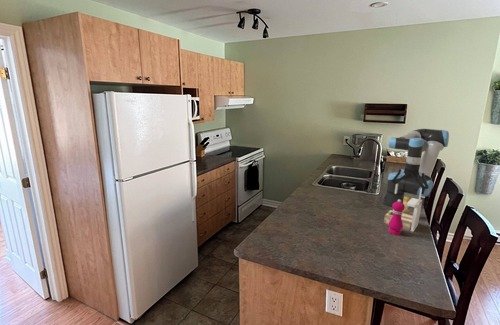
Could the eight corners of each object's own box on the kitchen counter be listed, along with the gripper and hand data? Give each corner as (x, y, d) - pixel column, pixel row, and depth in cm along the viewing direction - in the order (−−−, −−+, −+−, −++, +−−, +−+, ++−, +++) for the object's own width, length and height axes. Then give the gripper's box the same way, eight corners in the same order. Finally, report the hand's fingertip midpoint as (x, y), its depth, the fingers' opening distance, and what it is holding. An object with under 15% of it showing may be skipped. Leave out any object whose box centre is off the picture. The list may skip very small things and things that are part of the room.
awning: (407, 222, 167) (411, 197, 163) (418, 224, 163) (422, 200, 160) (402, 228, 158) (406, 203, 155) (413, 231, 155) (417, 205, 151)
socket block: (389, 216, 174) (390, 209, 173) (414, 223, 165) (415, 216, 163) (383, 222, 165) (384, 215, 164) (409, 230, 156) (410, 222, 155)
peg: (401, 215, 176) (404, 195, 173) (408, 217, 174) (411, 197, 170) (399, 217, 173) (403, 197, 170) (406, 219, 171) (410, 198, 168)
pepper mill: (394, 236, 149) (399, 202, 145) (384, 230, 156) (389, 197, 151) (404, 234, 151) (410, 201, 146) (394, 228, 158) (399, 196, 153)
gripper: (389, 160, 171) (384, 192, 175) (436, 168, 154) (429, 202, 159) (392, 159, 176) (388, 189, 181) (438, 165, 160) (431, 199, 164)
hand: (407, 196), depth 170 cm, fingers open, 13 cm apart
